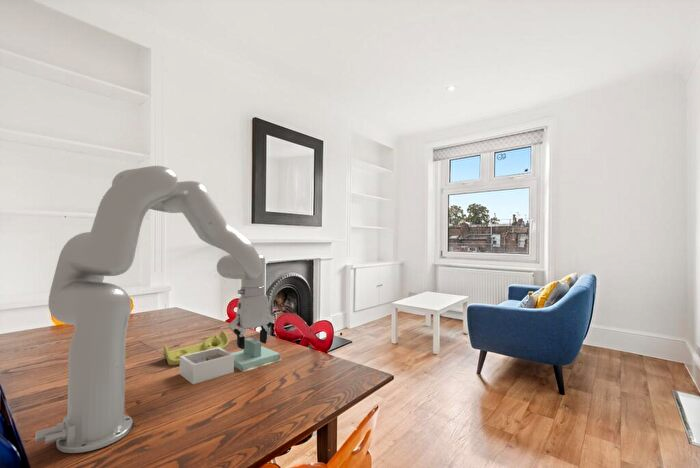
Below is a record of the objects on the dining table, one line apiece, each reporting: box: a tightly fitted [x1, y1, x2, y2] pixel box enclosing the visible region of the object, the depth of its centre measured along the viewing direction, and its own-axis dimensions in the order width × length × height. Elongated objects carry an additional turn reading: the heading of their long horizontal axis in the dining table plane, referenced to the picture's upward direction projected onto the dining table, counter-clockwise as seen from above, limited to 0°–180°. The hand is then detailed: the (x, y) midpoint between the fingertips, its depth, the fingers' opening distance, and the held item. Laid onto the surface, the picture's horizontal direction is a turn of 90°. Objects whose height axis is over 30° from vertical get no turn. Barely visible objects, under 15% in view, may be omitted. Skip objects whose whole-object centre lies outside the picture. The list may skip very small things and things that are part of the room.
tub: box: [179, 347, 235, 385], centre depth 101 cm, size 12×10×6 cm
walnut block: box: [206, 354, 223, 361], centre depth 103 cm, size 4×4×4 cm
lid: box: [231, 337, 281, 371], centre depth 112 cm, size 14×12×6 cm
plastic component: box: [162, 330, 230, 366], centre depth 116 cm, size 20×7×10 cm
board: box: [234, 358, 283, 373], centre depth 112 cm, size 14×14×1 cm
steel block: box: [192, 358, 206, 364], centre depth 99 cm, size 4×4×4 cm
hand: (252, 344), depth 112 cm, fingers open, 7 cm apart
